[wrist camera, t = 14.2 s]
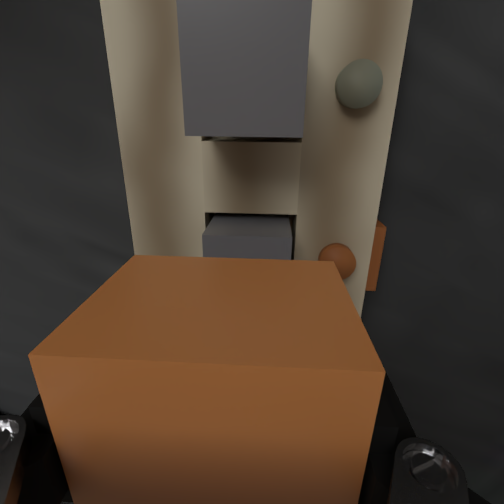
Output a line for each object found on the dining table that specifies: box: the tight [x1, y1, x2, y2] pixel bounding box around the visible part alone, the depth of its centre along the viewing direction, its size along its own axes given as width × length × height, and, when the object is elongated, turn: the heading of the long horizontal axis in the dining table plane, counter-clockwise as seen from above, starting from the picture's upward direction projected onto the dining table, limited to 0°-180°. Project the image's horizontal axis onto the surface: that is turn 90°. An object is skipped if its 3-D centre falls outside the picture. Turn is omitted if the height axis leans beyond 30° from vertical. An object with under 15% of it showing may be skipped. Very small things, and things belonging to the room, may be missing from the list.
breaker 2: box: [202, 213, 292, 260], centre depth 19 cm, size 4×4×6 cm
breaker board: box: [100, 0, 413, 318], centre depth 20 cm, size 15×28×5 cm, turn 179°
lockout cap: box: [28, 255, 386, 504], centre depth 9 cm, size 7×7×5 cm
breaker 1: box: [176, 0, 312, 138], centre depth 13 cm, size 4×4×6 cm
